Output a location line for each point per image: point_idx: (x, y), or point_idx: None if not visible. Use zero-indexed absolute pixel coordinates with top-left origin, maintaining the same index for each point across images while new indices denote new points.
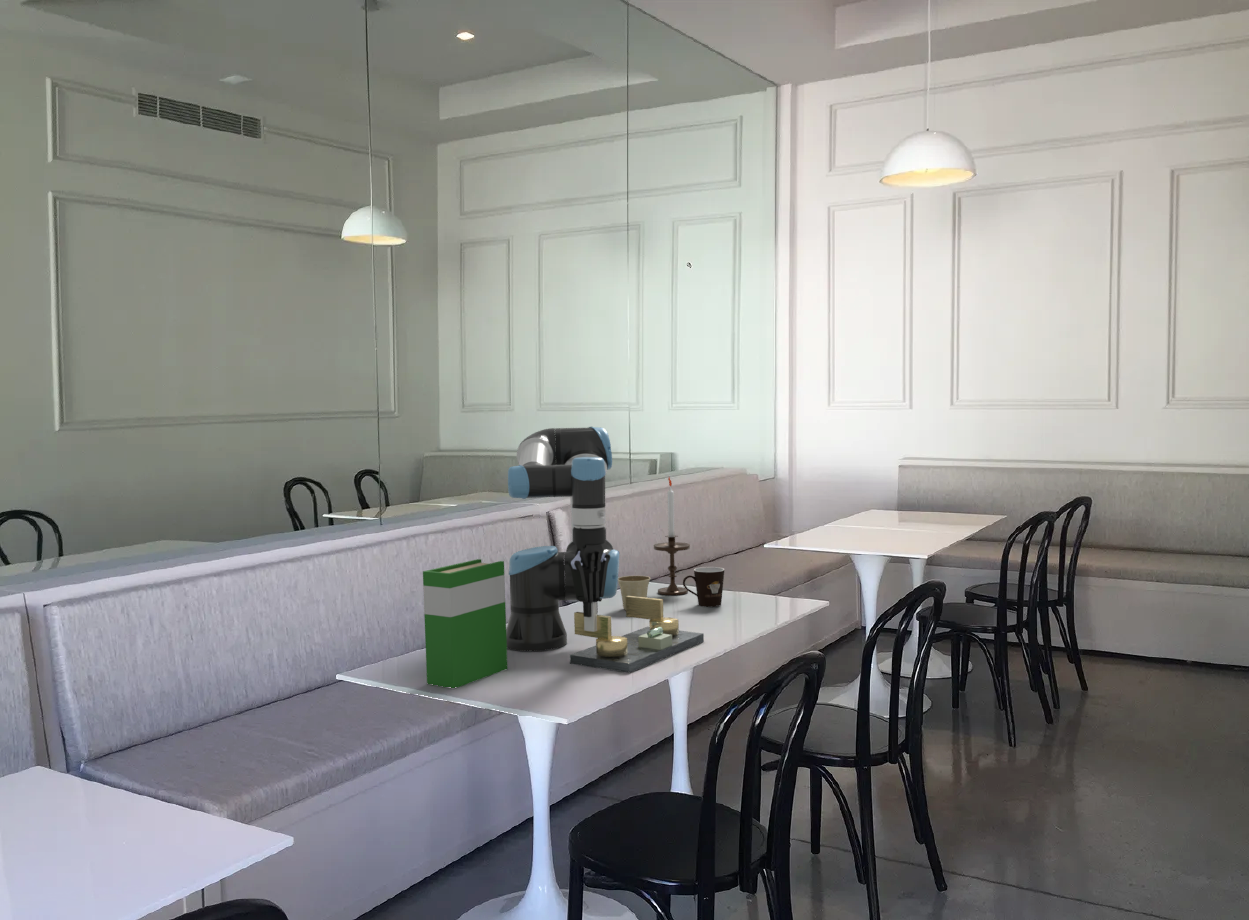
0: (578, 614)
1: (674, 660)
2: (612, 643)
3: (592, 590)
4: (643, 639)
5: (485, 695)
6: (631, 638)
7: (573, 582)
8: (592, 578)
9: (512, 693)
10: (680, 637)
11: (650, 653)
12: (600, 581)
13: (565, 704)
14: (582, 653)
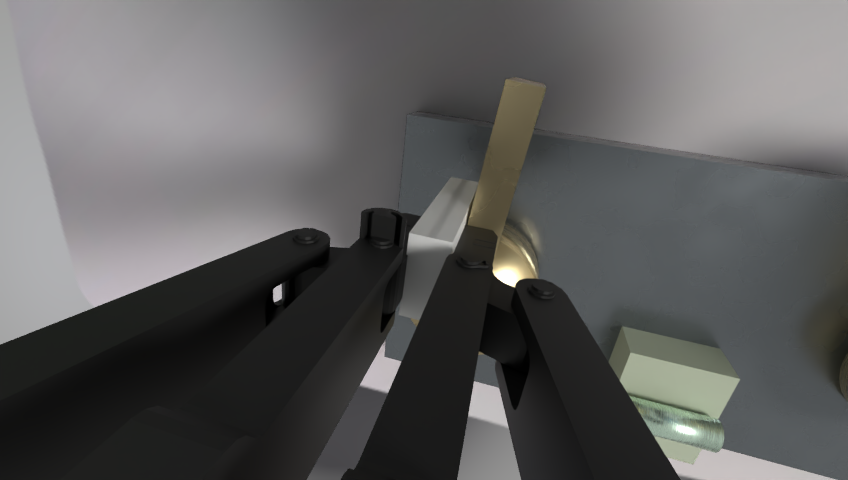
0: (495, 123)
1: None
2: (411, 318)
3: (361, 372)
4: (621, 366)
5: (29, 51)
6: (796, 252)
7: (127, 295)
8: (307, 474)
9: (85, 117)
10: (841, 439)
11: None
12: (525, 455)
13: (114, 284)
14: (444, 156)
